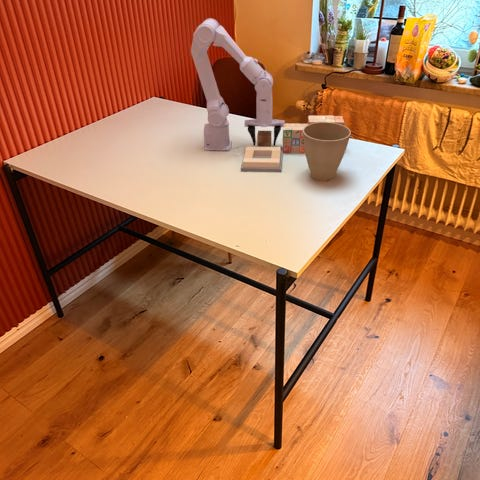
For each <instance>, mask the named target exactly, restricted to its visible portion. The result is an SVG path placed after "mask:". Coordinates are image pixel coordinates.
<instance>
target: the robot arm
mask: <svg viewBox="0 0 480 480" xmlns="http://www.w3.org/2000/svg"><path fill="white" fill-rule="evenodd" d="M192 35H193V36H192V37H193V38H192V43H191V47H190V53H191V57H192V60H193V62H194V66H195V68H196V72H197V74H198V78H199V82H200V84H201V88H202V91H203V94H204V96H205V100H206V110H207V122H208V123H204V126H203V139H204V151H230V150H231V147H232V142H233V141H232V140H230V125H229V124H230V123H229V121H228V118H227V117H228V116H229V115H230V114H229V113H230V109H229V106H228V105H227V104H226V103H225V100H224V98H223V97H222V96H221V93H220V91H219V88H218V85H217V84H218V83H217V81H216V79H215V75H214V72H213V68H212V65H211V62H210V58H209V55H208V49H209V48H210V46H211V44H212V43H213V44H212V46H214V47H222V48H223V49H224V50H225V51H226V52H227V53H228V54H229V55H230V56H231V57H232V58H233V59H234V60H235V61H236V62H237V63H238V64H239V70H240V71H241V73H243V75H244V76H245V77H246V78H247V79H248V81H250V83H252V84H253V85H254V90H255V92H256V99H255V100H256V101H255V102H256V109H255V110H256V118H254V119H244V124H243V125H244V128H247V132H248V133H249V135H250V137H251V141H252V146H253V147H256V144H257V137H256V127H261V128H267V127H274V128H273V143H272V145H273V146H272V147H276V142H277V140H278V137H279V134H280V132H281V130H282V128H283V126H284V124H285V120H284V119H283V120H282V119H274V118H273V86H274V78H273V76H272V74H271V73H270V72H267V70H266V69H263V68H262V66H261V65H260V64H259V63H258V62H259V61H258V59H257V58H255V57H252V56H247V55H246V54H245V52H243V51H242V49H241V48H240V47H239V46H238V44H237V43H236V42H235V41H234V39H233V38H232V37H231V36H230V34H229V33H228V32H227V30H226V29H225V27H223V25H220V23H219V22H218V21H217V20H216V18H215V19H214V18H211V17H210V18H209V17H208V18H206V19H205V20H204V21H203V22H202V23H200V24H199V25H198V26H197V27H196V29H195V31H194V32H193V34H192Z"/></svg>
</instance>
